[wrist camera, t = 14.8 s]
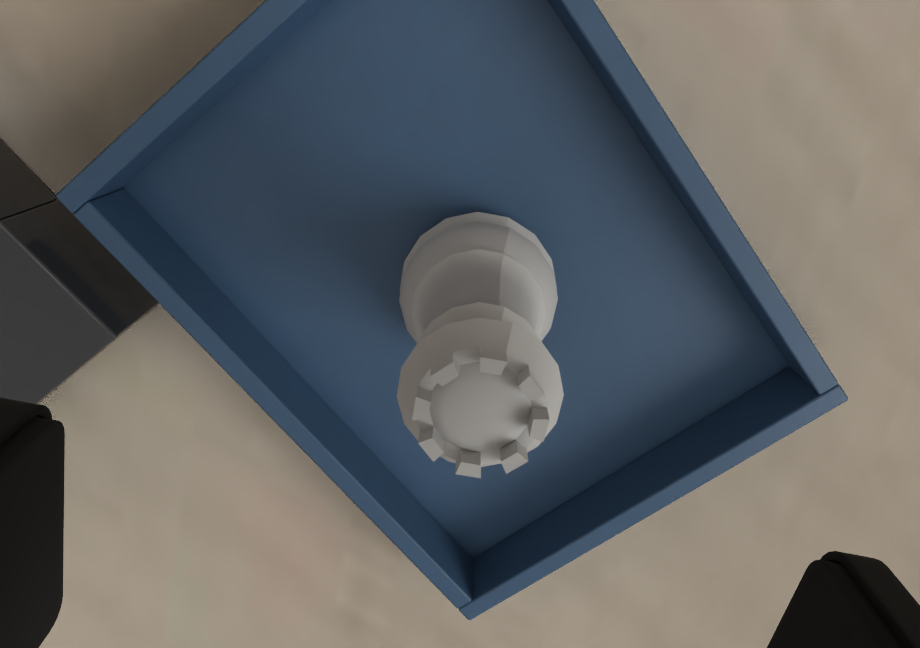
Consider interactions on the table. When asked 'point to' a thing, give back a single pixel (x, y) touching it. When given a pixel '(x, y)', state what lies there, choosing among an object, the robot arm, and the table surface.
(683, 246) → the basin tray
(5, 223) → the square hole block
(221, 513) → the table surface
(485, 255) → the rook chess piece
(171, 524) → the table surface
